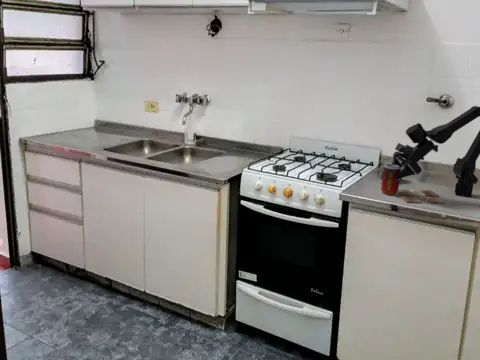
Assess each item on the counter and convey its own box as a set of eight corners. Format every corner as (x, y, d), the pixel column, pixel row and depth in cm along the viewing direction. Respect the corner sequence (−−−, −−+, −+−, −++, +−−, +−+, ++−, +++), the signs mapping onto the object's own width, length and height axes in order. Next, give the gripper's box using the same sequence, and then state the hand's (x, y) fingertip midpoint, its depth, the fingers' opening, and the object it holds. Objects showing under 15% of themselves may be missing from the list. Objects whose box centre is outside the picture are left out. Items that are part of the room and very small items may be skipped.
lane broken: (436, 198, 212) (437, 196, 212) (444, 203, 206) (444, 202, 205) (400, 197, 211) (400, 196, 211) (406, 202, 204) (407, 201, 204)
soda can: (396, 191, 219) (399, 164, 216) (398, 196, 212) (402, 168, 209) (379, 190, 220) (382, 162, 217) (381, 194, 213) (385, 166, 210)
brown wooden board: (431, 191, 222) (431, 190, 221) (438, 196, 215) (438, 195, 215) (396, 191, 220) (396, 189, 220) (402, 195, 213) (402, 194, 213)
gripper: (400, 133, 219) (372, 157, 221) (418, 141, 201) (388, 167, 203) (415, 151, 222) (387, 174, 224) (434, 161, 204) (404, 186, 206)
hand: (391, 175), depth 214 cm, fingers open, 9 cm apart
